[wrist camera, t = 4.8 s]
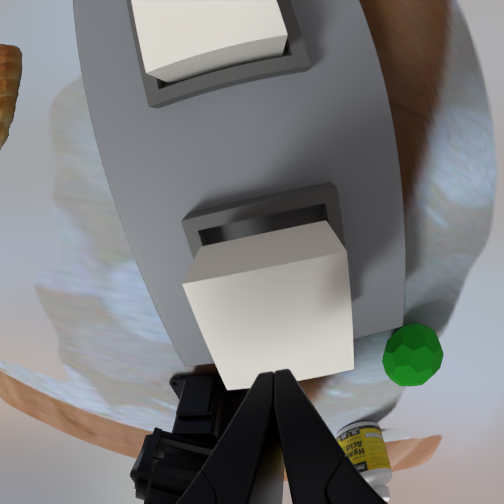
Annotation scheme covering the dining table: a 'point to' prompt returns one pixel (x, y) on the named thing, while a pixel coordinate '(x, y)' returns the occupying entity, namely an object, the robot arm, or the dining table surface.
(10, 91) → the pastry
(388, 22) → the dining table surface
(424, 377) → the polyhedron
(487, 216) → the dining table surface
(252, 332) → the button
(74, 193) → the dining table surface
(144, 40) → the button
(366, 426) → the supplement bottle
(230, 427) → the robot arm
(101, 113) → the panel
